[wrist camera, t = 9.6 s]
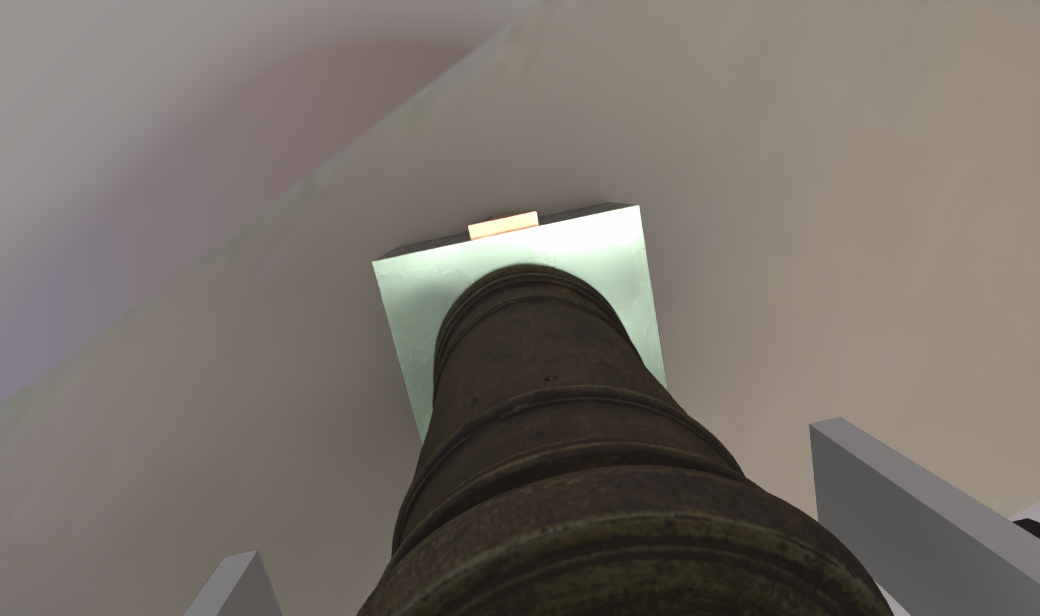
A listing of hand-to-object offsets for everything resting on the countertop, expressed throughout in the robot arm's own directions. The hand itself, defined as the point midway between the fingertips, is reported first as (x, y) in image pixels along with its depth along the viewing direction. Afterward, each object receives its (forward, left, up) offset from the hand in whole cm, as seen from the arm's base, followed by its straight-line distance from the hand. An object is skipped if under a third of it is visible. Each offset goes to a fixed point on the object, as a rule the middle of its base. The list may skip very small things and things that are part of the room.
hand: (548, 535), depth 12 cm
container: (0, 0, -13) cm, 13 cm away
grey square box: (0, 0, -19) cm, 19 cm away
